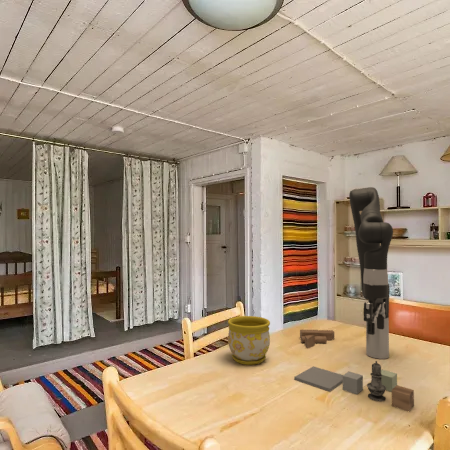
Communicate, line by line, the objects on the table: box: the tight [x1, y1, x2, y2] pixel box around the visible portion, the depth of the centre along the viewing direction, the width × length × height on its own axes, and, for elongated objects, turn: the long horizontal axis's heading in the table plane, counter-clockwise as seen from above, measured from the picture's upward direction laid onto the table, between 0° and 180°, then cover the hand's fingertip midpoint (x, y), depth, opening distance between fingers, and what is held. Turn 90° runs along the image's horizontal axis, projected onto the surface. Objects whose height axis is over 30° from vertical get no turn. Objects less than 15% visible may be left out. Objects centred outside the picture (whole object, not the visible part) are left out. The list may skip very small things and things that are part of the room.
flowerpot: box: [227, 315, 271, 366], centre depth 147 cm, size 18×18×16 cm
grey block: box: [342, 371, 364, 395], centre depth 119 cm, size 5×5×5 cm
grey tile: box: [293, 366, 344, 393], centre depth 127 cm, size 14×14×1 cm
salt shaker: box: [366, 360, 387, 402], centre depth 114 cm, size 6×6×12 cm
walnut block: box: [391, 384, 415, 412], centre depth 108 cm, size 5×5×5 cm
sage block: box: [381, 368, 398, 393], centre depth 121 cm, size 5×5×5 cm
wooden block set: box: [299, 329, 335, 350], centre depth 169 cm, size 17×6×18 cm
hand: (375, 331), depth 114 cm, fingers open, 8 cm apart
